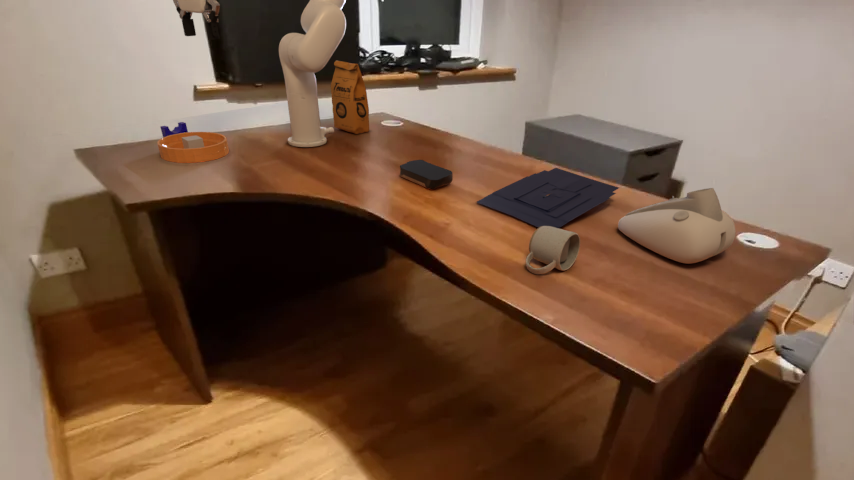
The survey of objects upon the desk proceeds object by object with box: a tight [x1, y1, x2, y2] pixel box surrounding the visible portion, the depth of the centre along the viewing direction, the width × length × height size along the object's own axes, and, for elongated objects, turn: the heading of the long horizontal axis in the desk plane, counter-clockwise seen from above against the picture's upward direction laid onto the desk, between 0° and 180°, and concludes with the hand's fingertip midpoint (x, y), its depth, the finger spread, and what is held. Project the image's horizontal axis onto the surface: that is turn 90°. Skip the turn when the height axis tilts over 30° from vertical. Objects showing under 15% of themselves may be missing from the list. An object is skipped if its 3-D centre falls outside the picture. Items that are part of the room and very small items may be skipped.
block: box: [182, 135, 204, 149], centre depth 160 cm, size 4×4×4 cm
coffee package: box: [330, 60, 370, 135], centre depth 185 cm, size 10×12×22 cm
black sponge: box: [399, 159, 454, 190], centre depth 148 cm, size 16×8×4 cm, turn 40°
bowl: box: [156, 131, 230, 164], centre depth 161 cm, size 19×19×4 cm
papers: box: [476, 167, 620, 229], centre depth 136 cm, size 24×30×4 cm
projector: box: [617, 187, 737, 265], centre depth 113 cm, size 22×23×15 cm
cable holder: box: [160, 121, 189, 138], centre depth 177 cm, size 8×4×4 cm, turn 147°
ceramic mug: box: [525, 226, 581, 275], centre depth 106 cm, size 11×8×8 cm
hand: (202, 37), depth 144 cm, fingers open, 9 cm apart
